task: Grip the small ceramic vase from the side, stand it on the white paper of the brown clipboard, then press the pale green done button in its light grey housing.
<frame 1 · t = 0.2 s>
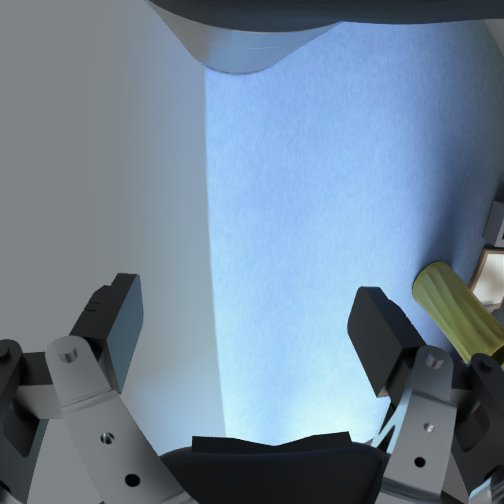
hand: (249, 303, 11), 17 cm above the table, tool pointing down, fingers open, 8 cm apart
button housing: (499, 220, 31), on the table
vase: (431, 281, 34), on the table
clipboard: (491, 280, 35), on the table
bottle: (442, 375, 45), on the table
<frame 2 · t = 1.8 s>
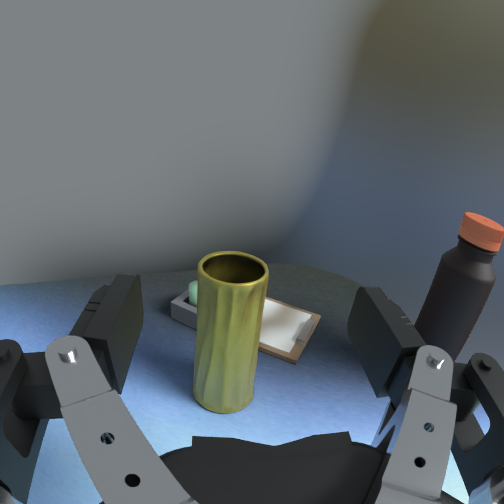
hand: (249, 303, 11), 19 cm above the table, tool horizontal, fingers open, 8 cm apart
done button: (198, 296, 39), point 3 cm above the table, slide at 0.0 cm
button housing: (198, 315, 40), on the table
vase: (223, 391, 29), on the table
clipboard: (272, 326, 40), on the table
bottle: (418, 373, 33), on the table
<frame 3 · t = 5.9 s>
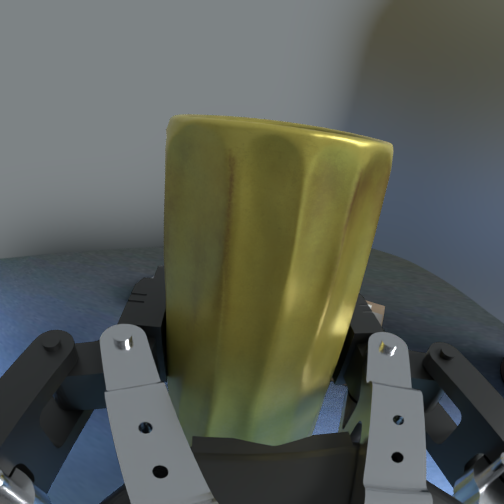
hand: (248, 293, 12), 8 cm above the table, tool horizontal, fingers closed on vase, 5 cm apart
vase: (236, 457, 13), on the table, touching gripper
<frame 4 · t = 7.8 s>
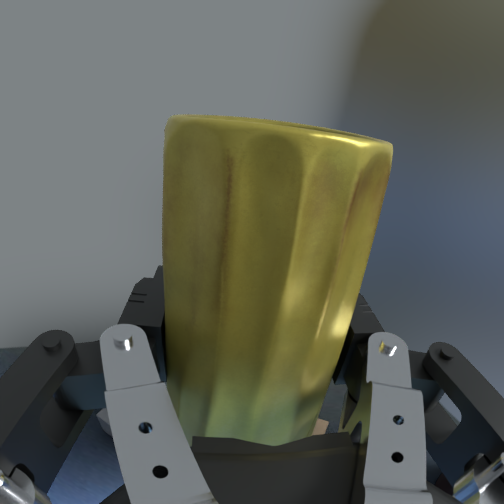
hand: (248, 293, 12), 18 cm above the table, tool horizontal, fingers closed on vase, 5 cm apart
button housing: (142, 427, 23), on the table
vase: (236, 458, 13), point 10 cm above the table, touching gripper
when the fingers open (10 cm above the table, at t = 10.1 s): vase drops 1 cm, resting on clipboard.
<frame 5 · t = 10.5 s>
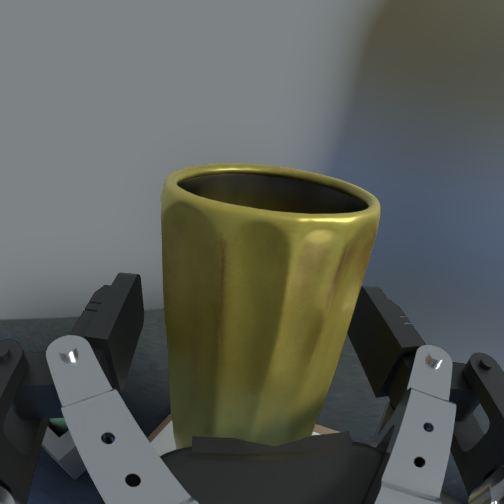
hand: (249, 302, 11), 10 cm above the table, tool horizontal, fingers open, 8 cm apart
done button: (58, 401, 13), point 3 cm above the table, slide at 0.0 cm
button housing: (74, 430, 14), on the table
vase: (236, 471, 13), point 1 cm above the table, touching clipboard
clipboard: (234, 472, 14), on the table
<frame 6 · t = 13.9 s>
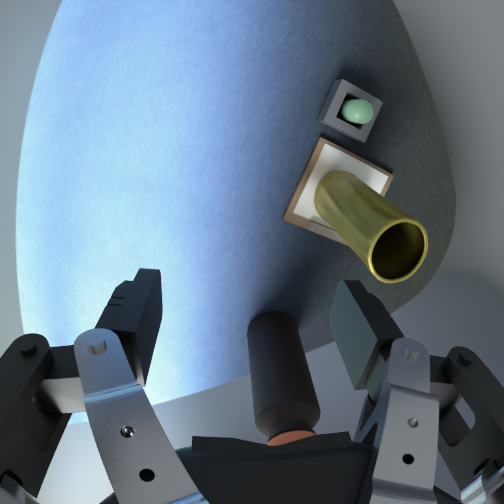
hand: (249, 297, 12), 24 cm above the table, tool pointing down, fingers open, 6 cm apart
done button: (356, 111, 28), point 3 cm above the table, slide at 0.0 cm
button housing: (345, 110, 30), on the table
vase: (339, 197, 34), point 1 cm above the table, touching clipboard
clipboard: (339, 195, 35), on the table
bottle: (271, 329, 42), on the table
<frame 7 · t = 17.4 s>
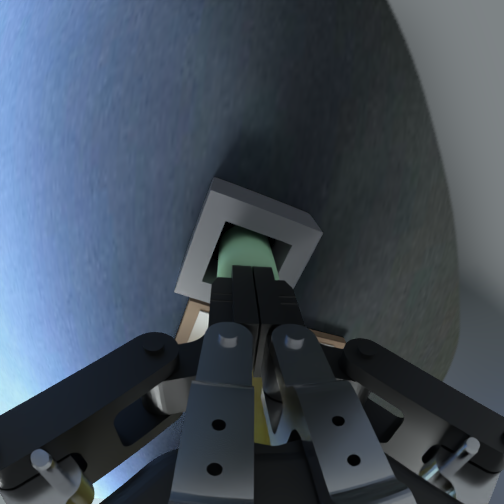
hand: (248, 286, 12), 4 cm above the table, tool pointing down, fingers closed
done button: (246, 263, 14), point 3 cm above the table, slide at 0.5 cm, touching gripper
button housing: (243, 240, 16), on the table
vase: (239, 380, 20), point 1 cm above the table, touching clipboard
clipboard: (242, 373, 20), on the table
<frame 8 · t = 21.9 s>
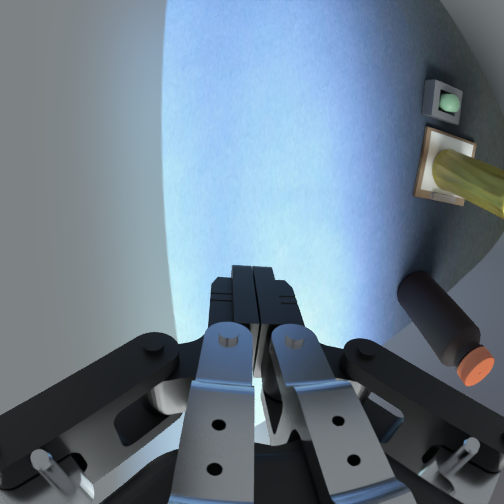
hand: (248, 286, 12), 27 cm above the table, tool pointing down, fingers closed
done button: (446, 102, 32), point 2 cm above the table, slide at 0.8 cm
button housing: (437, 101, 34), on the table
vase: (446, 169, 37), point 1 cm above the table, touching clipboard
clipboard: (445, 167, 38), on the table
bottle: (413, 288, 47), on the table
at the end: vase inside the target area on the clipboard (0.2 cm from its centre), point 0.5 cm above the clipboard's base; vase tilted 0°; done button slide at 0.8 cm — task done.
